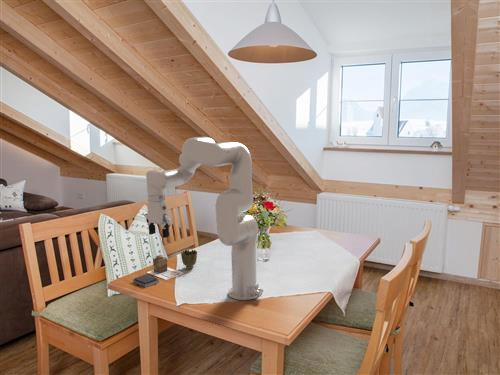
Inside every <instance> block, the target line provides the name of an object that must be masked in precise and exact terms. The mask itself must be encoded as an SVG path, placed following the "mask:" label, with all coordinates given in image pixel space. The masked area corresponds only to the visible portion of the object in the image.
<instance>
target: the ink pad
mask: <svg viewBox="0 0 500 375" xmlns="http://www.w3.org/2000/svg"><path fill="white" fill-rule="evenodd" d="M132 283H133V284H136V285H138V286H140V287H143V288H148V287H151V286H153V285H155V284H158V283H160V279H158V277H156V276H153V275H150V274H148V273H147V274H142V275H139V276H137V277H134V278H133V279H132Z"/></svg>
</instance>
